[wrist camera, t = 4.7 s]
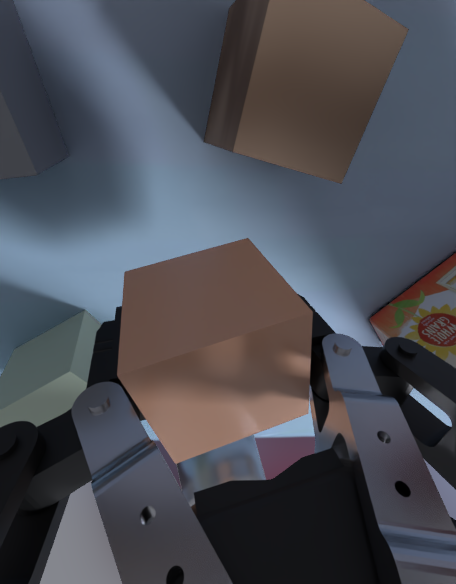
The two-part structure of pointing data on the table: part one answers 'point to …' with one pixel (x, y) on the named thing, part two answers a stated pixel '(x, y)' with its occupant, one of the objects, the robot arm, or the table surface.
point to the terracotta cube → (214, 347)
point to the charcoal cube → (24, 106)
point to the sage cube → (48, 372)
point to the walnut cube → (301, 81)
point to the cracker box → (424, 313)
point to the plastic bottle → (220, 467)
